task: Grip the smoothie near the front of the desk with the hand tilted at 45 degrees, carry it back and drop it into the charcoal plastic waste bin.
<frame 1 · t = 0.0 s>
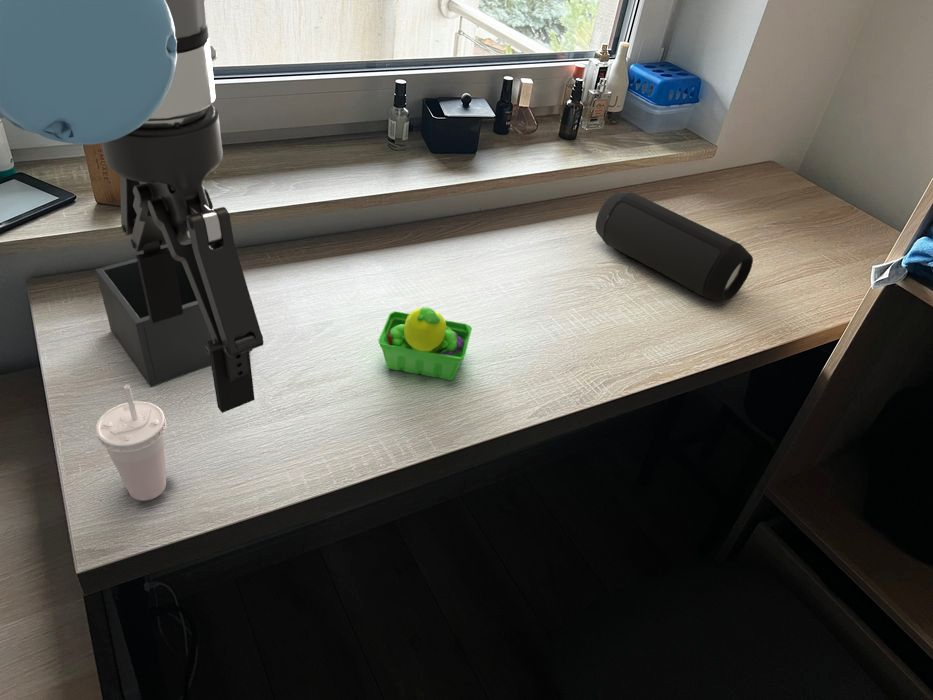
hand: (199, 357, 60), 23 cm above the table, tool pointing down, fingers open, 13 cm apart
fruit basket: (422, 367, 98), on the table
portable speaker: (662, 271, 124), on the table
bin: (181, 340, 97), on the table
smoothie: (147, 488, 78), on the table
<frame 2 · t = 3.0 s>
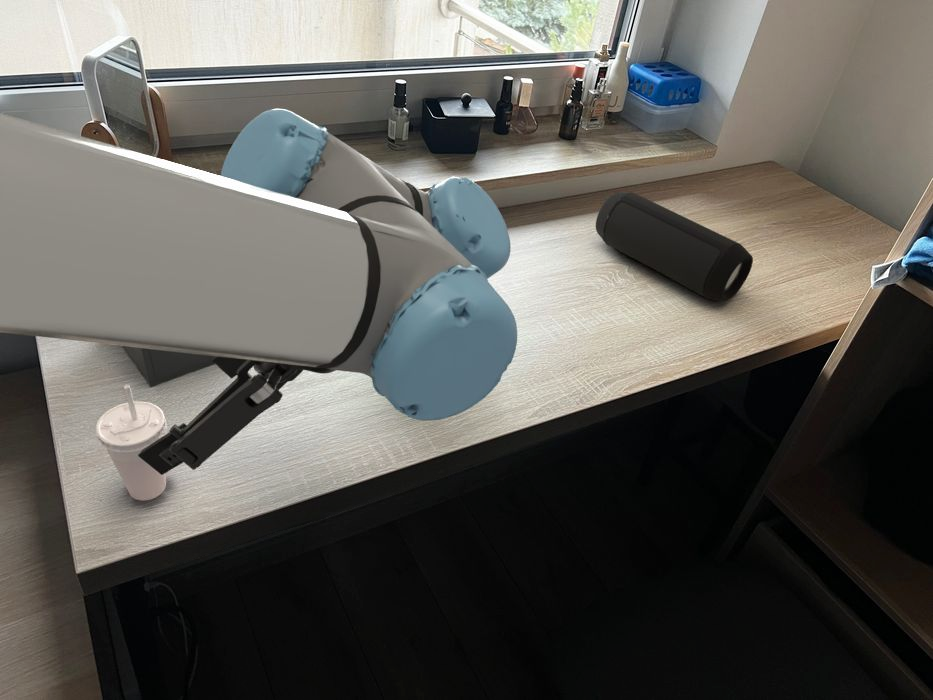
hand: (190, 411, 69), 13 cm above the table, tool tilted 45°, fingers open, 13 cm apart
nothing on the table moved.
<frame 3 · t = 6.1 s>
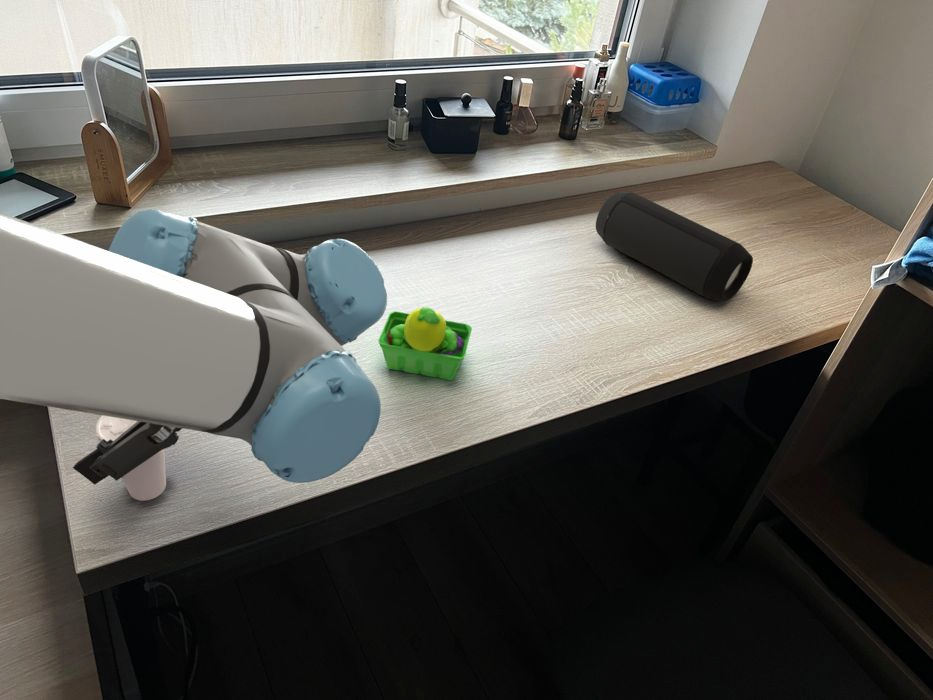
hand: (106, 448, 75), 5 cm above the table, tool tilted 45°, fingers closed on smoothie, 6 cm apart
smoothie: (147, 488, 78), on the table, touching gripper
everything else where it was.
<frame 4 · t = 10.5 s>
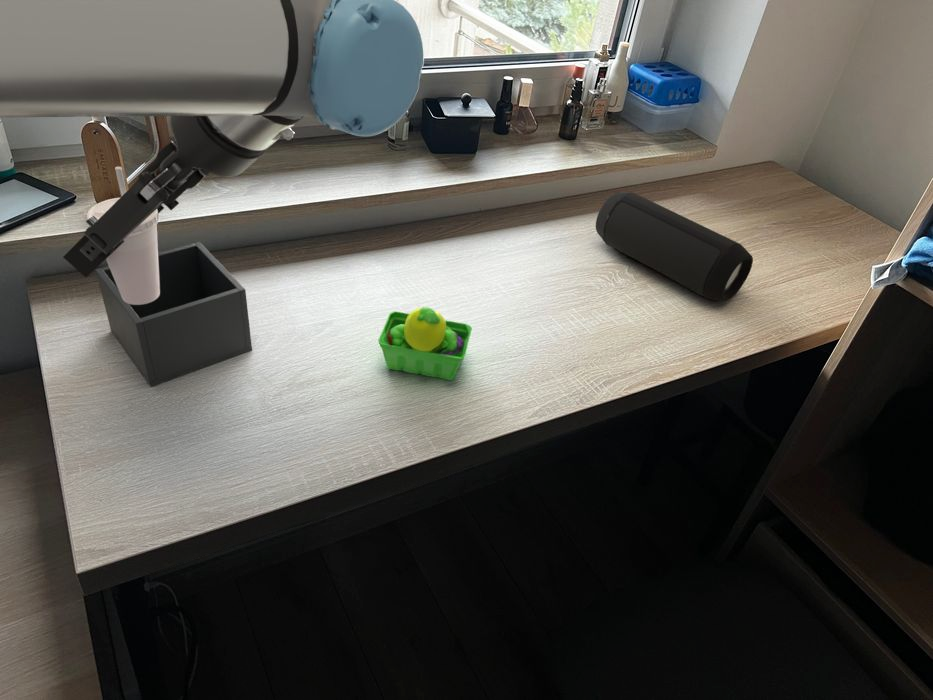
hand: (98, 247, 73), 22 cm above the table, tool tilted 45°, fingers closed on smoothie, 6 cm apart
smoothie: (141, 296, 76), point 17 cm above the table, touching gripper
everything else where it was.
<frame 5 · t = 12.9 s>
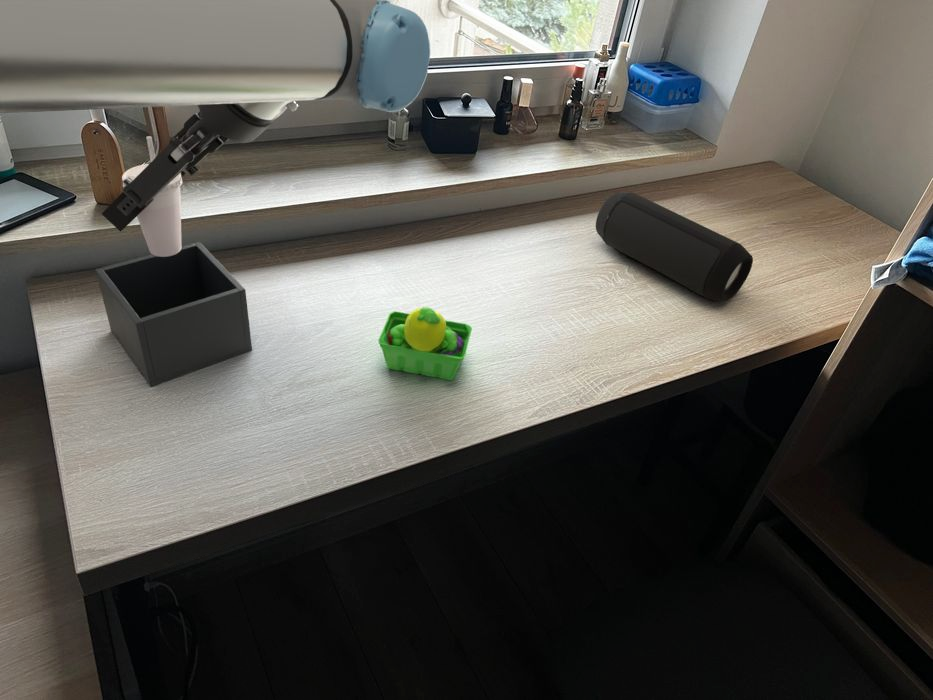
hand: (130, 207, 85), 19 cm above the table, tool tilted 45°, fingers closed on smoothie, 6 cm apart
smoothie: (165, 250, 88), point 14 cm above the table, touching gripper
everything else where it was.
when the fingers open (12 cm above the table, at t = 15.1 s): smoothie drops 6 cm, resting on bin.
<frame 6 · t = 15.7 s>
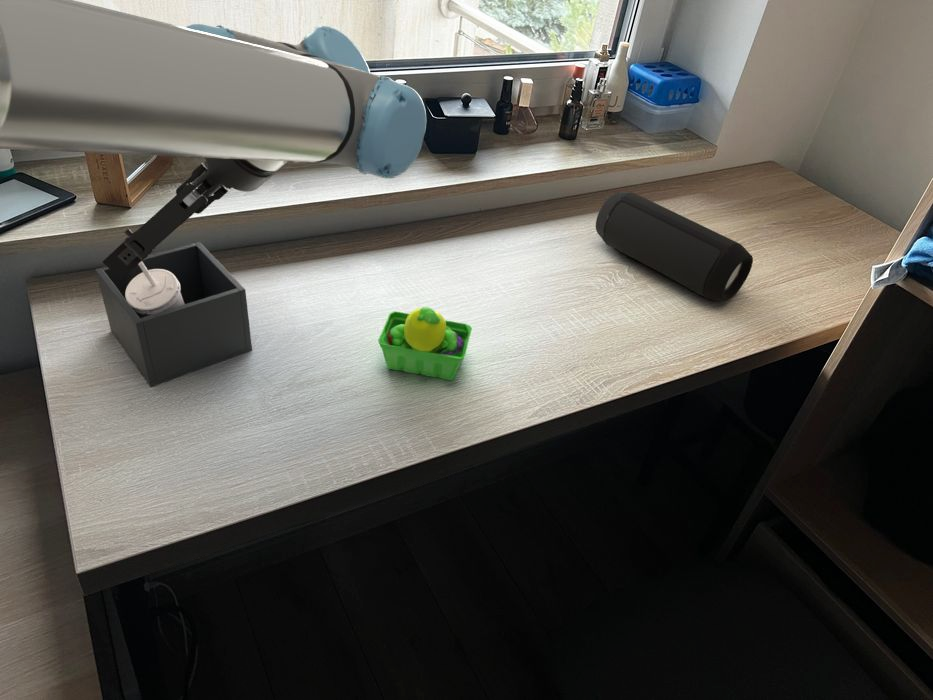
hand: (145, 241, 88), 15 cm above the table, tool tilted 45°, fingers open, 13 cm apart
smoothie: (180, 333, 96), point 1 cm above the table, touching bin
everything else where it was.
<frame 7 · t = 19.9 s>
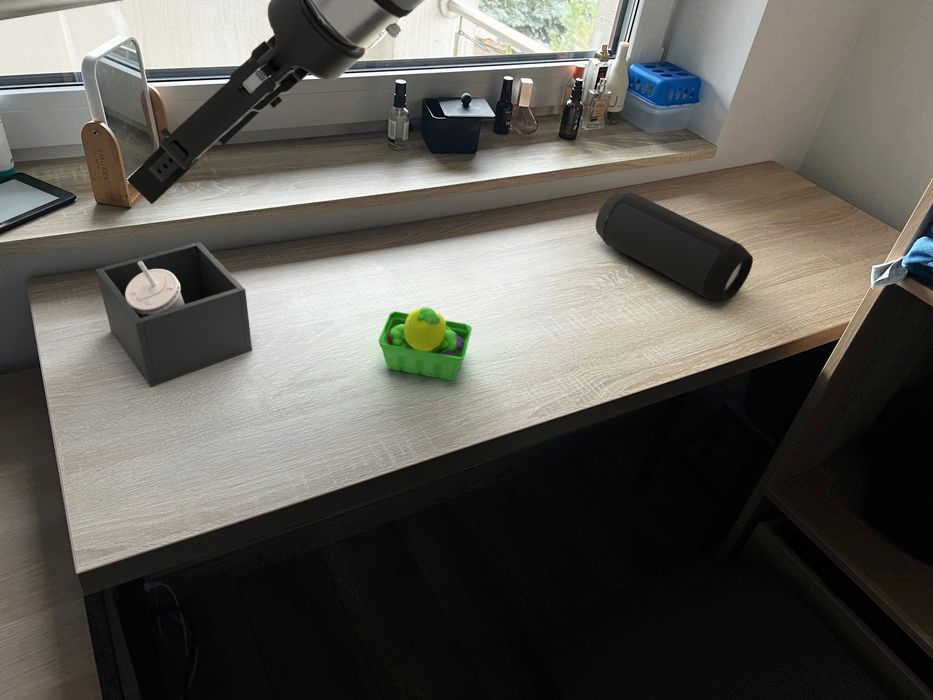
hand: (180, 160, 67), 32 cm above the table, tool tilted 45°, fingers open, 13 cm apart
nothing on the table moved.
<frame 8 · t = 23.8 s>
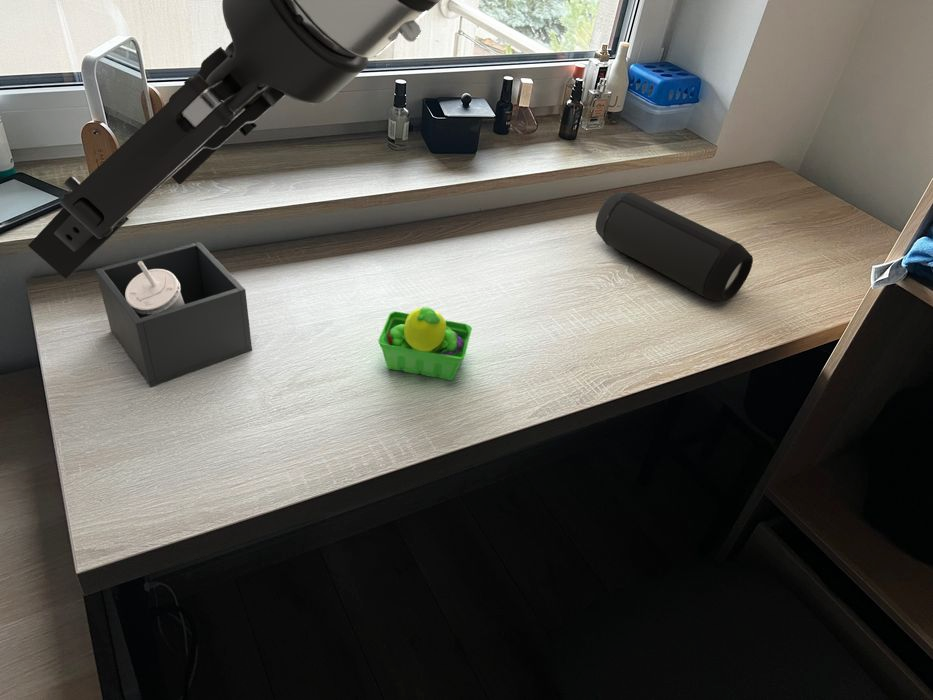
hand: (115, 209, 49), 38 cm above the table, tool tilted 45°, fingers open, 13 cm apart
nothing on the table moved.
at the end: smoothie inside the target area in the bin (0.2 cm from its centre), point 1.3 cm above the bin's base; the gripper is holding nothing; smoothie moved 25.4 cm from its start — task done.
